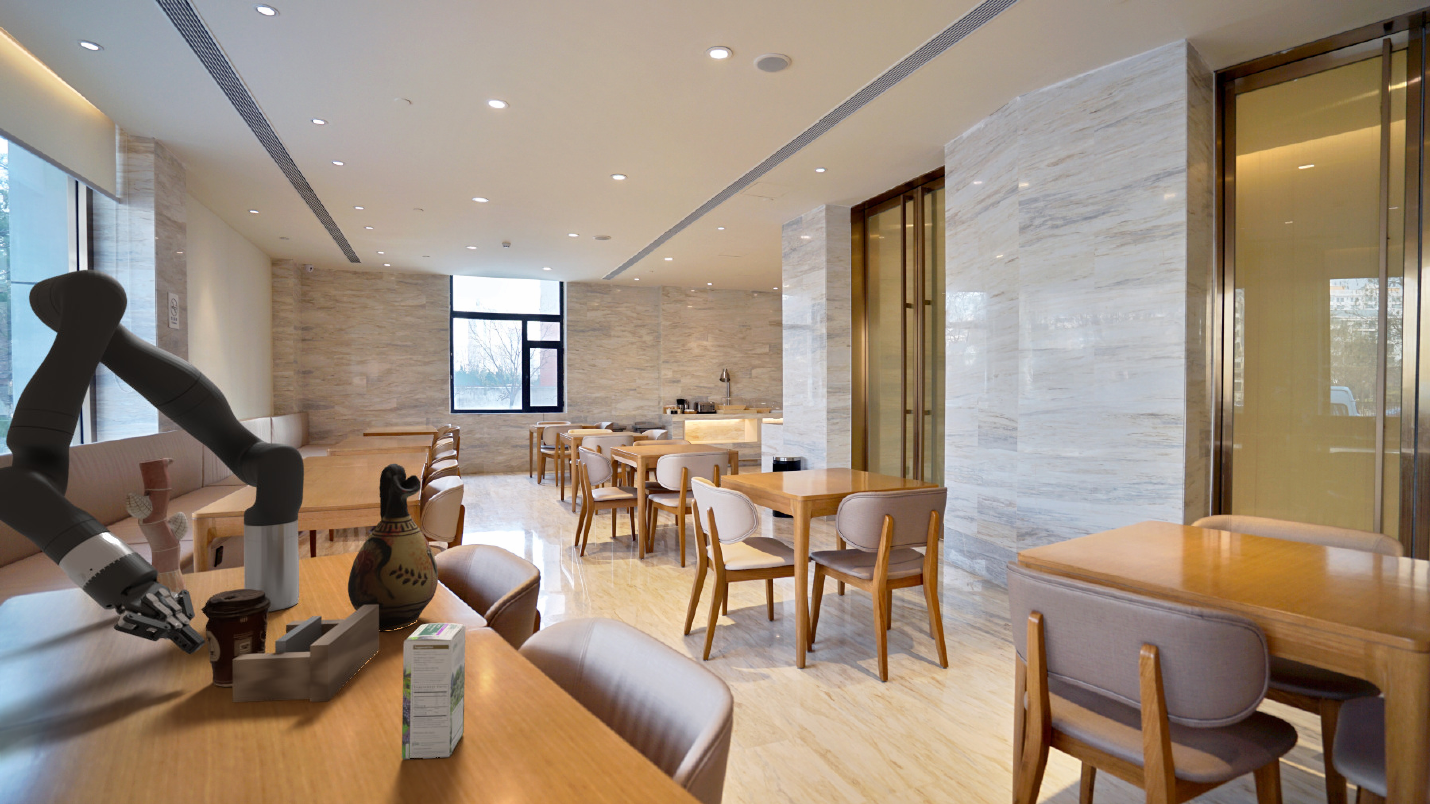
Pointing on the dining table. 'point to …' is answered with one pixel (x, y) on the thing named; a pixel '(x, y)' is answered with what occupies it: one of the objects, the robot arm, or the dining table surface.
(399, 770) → the dining table surface
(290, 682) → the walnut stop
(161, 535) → the vase
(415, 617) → the ceramic jug
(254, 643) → the coffee cup
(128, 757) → the dining table surface
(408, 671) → the syrup box
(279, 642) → the pad
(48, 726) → the dining table surface
